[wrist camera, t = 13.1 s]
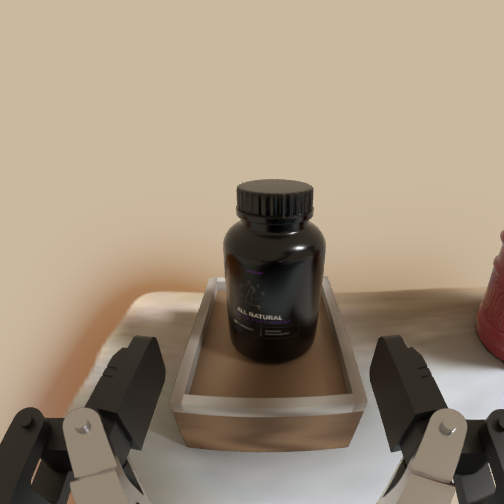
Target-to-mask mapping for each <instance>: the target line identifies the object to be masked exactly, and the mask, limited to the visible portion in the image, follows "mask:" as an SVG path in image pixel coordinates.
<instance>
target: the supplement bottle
mask: <svg viewBox="0 0 504 504" xmlns="http://www.w3.org/2000/svg"><path fill="white" fill-rule="evenodd" d="M313 210H314V208H313V187H312V186H311V185H309V184H307V183H303V182H299V181H293V180H281V179H267V180H266V179H265V180H255V181H249V182H245V183H242V184H239V185H238V186H237V206H236V214H237V216H238V217H239V218H241V220H240V221H239V222H237V223H235V224H234V225H233V226H232V227H231V228H230V229H229V230H228V232H227V233H226V235H225V238H224V242H223V251H224V267H225V283H226V297H227V311H228V324H229V333H230V339H231V342H232V344H233V346H234V347H235V348H236V350H237V351H238V352H240V353H241V354H242V355H243V356H245V357H247V358H249V359H251V360H253V361H256V362H260V363H267V364H279V363H285V362H289V361H292V360H295V359H297V358H299V357H301V356H302V355H304V354H305V353H306V352H307V351H308V350H309V349H310V348H311V346H312V345H313V343H314V340H315V336H316V330H317V323H318V315H319V308H320V299H321V291H322V282H323V272H324V262H325V248H326V243H325V239H324V236H323V234H322V232H321V231H320V230H319V228H318V227H316V226H315V225H314V224H313V223H311V222H310V221H309V219H311V218H312V217H313V212H314V211H313Z"/></svg>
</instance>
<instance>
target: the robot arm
mask: <svg viewBox="0 0 504 504" xmlns="http://www.w3.org/2000/svg"><path fill="white" fill-rule="evenodd" d="M164 381H165V365H164V362H163V359H162V355H161V352H160V349H159V345H158V342H157V339H156V338H155V337H147V336H135V337H134V338H133V339H132V341H131V343H130V345H129V347H128V348H122V349H120V350H119V351H118V352H117V353H116V354H115V355H113V356H112V358H111V360H110V362H109V363H108V365H107V368H106V369H105V371H104V372H103V376H101V378H100V380H99V381H98V383H97V385H96V387H95V389H94V391H93V393H92V394H91V396H90V398H89V400H88V402H87V404H86V406H85V407H84V408H78V409H75V410H73V411H71V412H70V413H69V414H68V415H67V416H66V417H65V418H45V417H44V416H43V414H42V413H41V412H40V411H39V410H38V409H36V408H33V407H29V408H25V409H22V410H21V411H19V412H18V413H17V414H16V416H15V417H14V419H13V421H12V423H11V424H10V426H9V428H8V430H7V432H6V434H5V436H4V438H3V440H2V442H1V444H0V504H67V500H68V497H69V494H70V491H72V495H73V498H74V501H75V504H152V502H151V501H150V499H149V498H148V496H147V494H146V492H145V490H144V488H143V487H142V485H141V483H140V481H139V478H138V476H137V474H136V472H135V470H134V468H133V466H132V464H131V461H130V459H129V457H128V454H129V451H130V448H131V449H136V450H140V451H141V449H142V446H143V443H144V440H145V437H146V434H147V431H148V428H149V425H150V422H151V419H152V416H153V413H154V410H155V407H156V404H157V401H158V398H159V395H160V393H161V390H162V387H163V384H164ZM370 382H371V385H372V388H373V392H374V395H375V398H376V401H377V405H378V408H379V411H380V415H381V418H382V422H383V425H384V429H385V432H386V436H387V440H388V443H389V447H390V451H391V452H395V451H400V450H401V451H402V454H403V457H402V459H401V460H400V462H399V464H398V466H397V468H396V470H395V472H394V474H393V476H392V478H391V479H390V481H389V483H388V485H387V487H386V488H385V490H384V492H383V494H382V495H381V497H380V499H379V500H378V501H377V503H376V504H450V503H451V501H452V498H453V496H454V493H455V489H456V493H457V497H458V501H459V504H504V409H498V410H495V411H493V412H492V413H491V414H490V415H489V416H488V418H487V419H486V420H466V419H465V418H464V416H463V415H462V414H461V413H459V412H458V411H456V410H453V409H448V407H447V405H446V403H445V401H444V398H443V396H442V394H441V392H440V390H439V388H438V386H437V384H436V382H435V380H434V378H433V377H432V374H431V372H430V370H429V368H427V364H426V362H425V360H424V359H423V357H422V355H421V354H419V353H418V352H417V351H416V350H415V349H414V348H413V347H410V348H407V347H406V345H405V343H404V341H403V339H402V337H401V336H400V335H394V336H384V337H380V338H379V339H378V342H377V346H376V349H375V353H374V356H373V359H372V363H371V366H370ZM39 459H41V462H40V465H39V467H38V470H37V472H36V475H35V477H34V480H33V483H32V485H31V478H32V476H33V473H34V471H35V469H36V466H37V464H38V461H39ZM488 463H489V464H490V467H491V470H492V474H493V477H494V480H495V484H496V489H495V485H494V482H493V478H492V475H491V472H490V469H489V466H488ZM452 479H453V480H454V483H452Z"/></svg>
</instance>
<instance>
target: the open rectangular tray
mask: <svg viewBox="0 0 504 504" xmlns="http://www.w3.org/2000/svg"><path fill="white" fill-rule="evenodd" d="M169 404H170V407H171V409H172V412H173V414H174V417H175V419H176V422H177V424H178V426H179V429H180V431H181V434H182V436H183V438H184V441H185V443H186V445H187V447H191V448H200V449H211V450H224V451H244V452H290V451H310V450H323V449H333V448H342V447H348V446H349V444H350V442H351V439H352V437H353V435H354V433H355V431H356V428H357V426H358V424H359V421H360V419H361V417H362V414H363V412H364V409H365V407H366V404H367V398H366V394H365V391H364V387H363V384H362V381H361V377H360V374H359V371H358V367H357V364H356V361H355V357H354V354H353V351H352V348H351V345H350V342H349V338H348V335H347V332H346V329H345V326H344V323H343V320H342V317H341V314H340V311H339V308H338V305H337V303H336V300H335V297H334V294H333V291H332V289H331V285H330V283H329V280H328V277H326V276H323V282H322V291H321V299H320V308H319V315H318V323H317V330H316V336H315V340H314V343H313V345H312V346H311V348H310V349H309V350H308V351H307V352H306V353H305V354H304V355H302V356H301V357H299V358H297V359H295V360H292V361H289V362H285V363H279V364H267V363H260V362H256V361H253V360H251V359H249V358H247V357H245V356H243V355H242V354H241V353H240V352H238V351H237V350H236V348H235V347H234V346H233V344H232V342H231V339H230V333H229V324H228V311H227V297H226V283H225V278H210V279H209V282H208V285H207V288H206V291H205V294H204V297H203V300H202V303H201V305H200V308H199V311H198V314H197V317H196V320H195V323H194V326H193V329H192V332H191V335H190V338H189V341H188V344H187V347H186V350H185V353H184V356H183V359H182V363H181V366H180V369H179V372H178V375H177V378H176V381H175V384H174V388H173V391H172V394H171V397H170V400H169Z"/></svg>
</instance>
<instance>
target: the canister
mask: <svg viewBox="0 0 504 504" xmlns="http://www.w3.org/2000/svg"><path fill="white" fill-rule="evenodd" d="M500 237H501V240H502V243H503V244H502V247H501V251H500V253H499V255H498V256H496V258H495V259H494V263H493V264H494V267H493V271H492V274H491V278H490V281H489V284H488V287H487V290H486V293H485V296H484V299H483V300H482V302H481V304H480V307H479V309H478V313H477V319H476V330H477V333H478V336H479V338H480V340H481V341H482V343H483V344H484V345H485V346H486V348H487V349H488V350H489V351H490V352H491V353H492V354H494V355H495V356H496V357H498V358H499V359H501V360H502V361H504V230H503V231H502V232H501V234H500Z"/></svg>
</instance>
